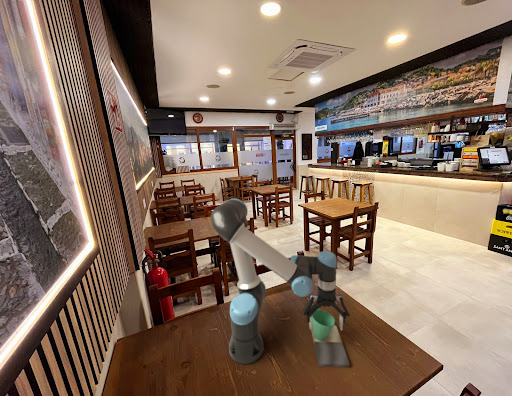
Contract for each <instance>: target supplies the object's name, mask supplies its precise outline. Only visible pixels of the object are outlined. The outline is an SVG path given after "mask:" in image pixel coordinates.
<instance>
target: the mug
mask: <svg viewBox="0 0 512 396" xmlns="http://www.w3.org/2000/svg"><path fill="white" fill-rule="evenodd" d="M335 324H336V319H335V317H334V316H333V315H332V314H331V313H329V312H328V311H325V310H323V309H321V307H320V308H318V309H317V310H316V311H315V312H314V313H313V314H312V326H313V332H314V336H315V338H316V339H317V340H319V341H324V340H325V339H326V338H327V337H328V335H329V334H330V332H331V330H332V328H333V326H334V325H335Z"/></svg>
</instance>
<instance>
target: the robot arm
mask: <svg viewBox="0 0 512 396" xmlns="http://www.w3.org/2000/svg"><path fill="white" fill-rule="evenodd" d="M248 211H249V210H248V206H247V205H246V203H245V202H244V201H242V200H241V199H239V198H231V199H227V200H225V201H224V202H223V203H221V204H220V205H218V206H217V207H215V208H214V209H213V211H212V213H211V216H210V223H211V226H212V229H213V230H214V231H215V232H216V233H217V234H218V236H220V237H221V238H222V239H223V240H224V241H226V242H227V243H228V244H229V245H230V249H231V254H232V257H233V261H234V266H235V268H236V274H237V277H238V281H237V284H236V285H237V289H238V290H237V291H238V296H237V295H236V296H235V297H233V299H232V300H231V301H230V304H229V305H230V306H229V316H230V326H231V336H230V339H229V345H228V350H229V351H228V353H229V356H230V357H231V359H232V360H233V361H234V362H236V363H238V364H240V365H249V364H252V363H256V361H258V360H259V358H261V357H262V355H263V352H264V341H263V338H262V335H261V333H260V331H259V330H260V329H259V316H260V313H261V311H262V306H263V303H264V301H265V299H266V293H267V289H266V284H265V282H263V280H262V279H261V277H260V276H259V275H257V272H256V268H255V264H254V263H255V262H254V259H255V260H257V261H258V262H259V263H260V264H262V265H263V266H265V267H266V268H267V269H269V270H270V271H271V272H273V273H274V274H276V275H277V276H278V277H280V278H281V279H283V280H284V282H287V283H288V284H289V285H290V287H291V290H292V292H293V294H294V295H295V296H297V297H300V298H306V297H308V296H309V298H308V301H307V303H306V304H305V306H304V308H303V309H302V313H303V316H306V321H307V323H308V326H309V330H310V331H311V330H312V314H313V313H314V312H315V311H316V310H317V309H318V308H320V309H321V307H328V308H329V307H331V306H332V307H333V309H334V310H336V312H338V314H339V316H338V326H339V329H340V331H343V330H344V329H343V326H344V324H345V323H346V318H347V317H350V316H351V314H350V312H349V310H348V308H347V307H346V305H345V302H344V299H343V296H342V295H341V294H338V295H336V290H337V289H336V288H337V286H336V285H337V283H336V282H337V269H338V268H337V266H338V264H337V262H338V261H337V256H336V254H335V253H333V252H332V251H328V250H327V251H325V250H324V251H320V252H319V253H318V256H313V255H311V256H310V255H302V254H299V255H297V254H296V255H295V254H294V255H291V256H290V259H289V258H288V257H286V256H285V255H284V254H282V253H281V252H279V250H277V249H275V248H274V247H273V246H272V245H270V244H268V243H267V242H266V241H264V240H263V239H262V238H260V237H259V236H258V235H256V234H255V233H254V232H252V231H251V230H249V229H248V227H249V224H248V223H249V222H248V218H247V216H248ZM313 275H317V294H316V295H314V294H312V291H313V287H314V281H313V280H314V279H313ZM336 301H338V302H339V304H340V306H339V305H338V304H337V303H336ZM314 302H315V303H314ZM341 307H342V308H341Z"/></svg>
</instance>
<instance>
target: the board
mask: <svg viewBox="0 0 512 396" xmlns="http://www.w3.org/2000/svg"><path fill="white" fill-rule="evenodd" d="M310 331H311V334H312V335H311V336H312V340H313V345H314V350H315V354H316V360H317V366H318V367H327V368H328V367H330V368H351V367H350V365H351V364H350V361H349V359H348V356H347V355H348V354H347V353H346V350H345V347H344V344H343V341H342V339H341V335H340V332H339V330H338V327H337V325H335V324H334V326H333V328H332V330H331V332H330V334H329V335H328V337H327V338H326V339H325V340H324V341H319V340H317V339H316V338H315V336H314V332H313V326H312V330H310Z"/></svg>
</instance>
